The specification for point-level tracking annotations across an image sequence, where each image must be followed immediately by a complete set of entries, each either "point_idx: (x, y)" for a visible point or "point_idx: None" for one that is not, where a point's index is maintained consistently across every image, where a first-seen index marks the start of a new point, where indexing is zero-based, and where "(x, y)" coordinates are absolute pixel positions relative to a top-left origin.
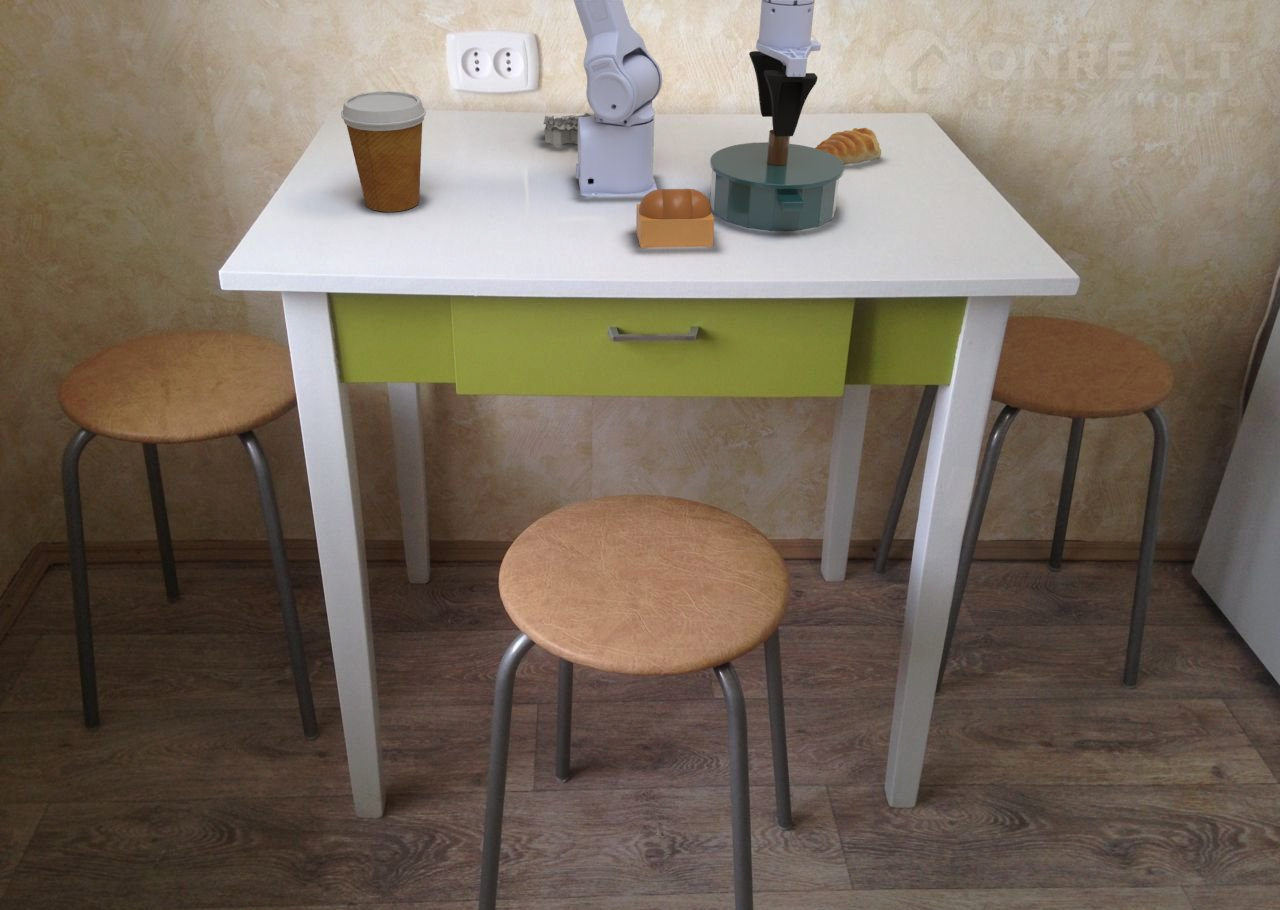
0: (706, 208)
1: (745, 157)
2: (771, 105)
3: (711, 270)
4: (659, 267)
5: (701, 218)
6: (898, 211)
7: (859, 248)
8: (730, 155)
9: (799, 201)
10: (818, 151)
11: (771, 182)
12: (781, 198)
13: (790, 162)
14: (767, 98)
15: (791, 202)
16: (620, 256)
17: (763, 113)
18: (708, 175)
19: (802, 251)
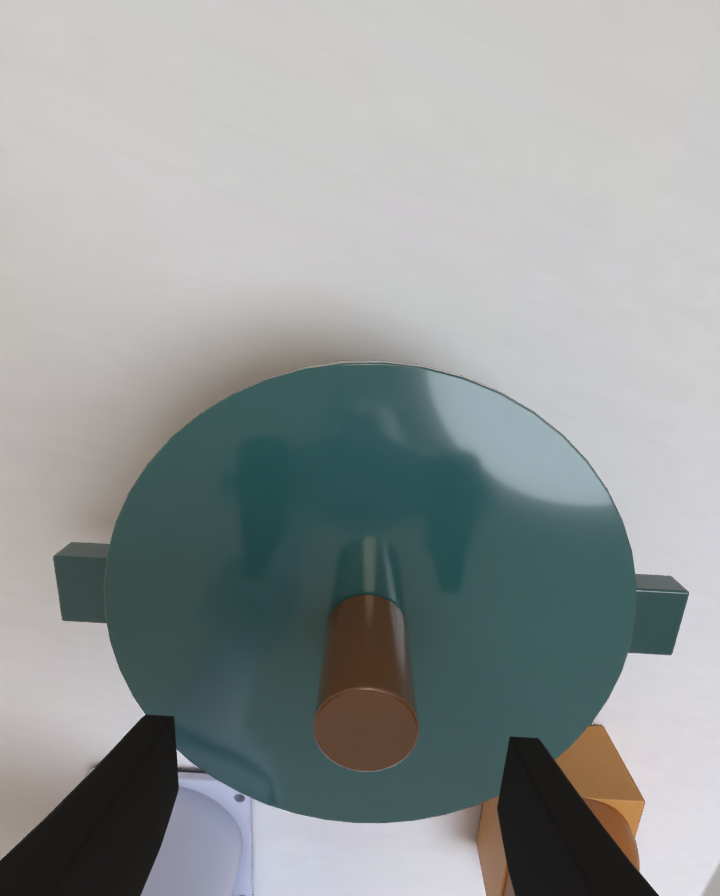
0: (628, 837)
1: (298, 716)
2: (149, 817)
3: (714, 747)
4: (665, 830)
5: (634, 828)
6: (406, 110)
7: (694, 370)
8: (273, 756)
9: (680, 606)
10: (229, 429)
11: (587, 698)
12: (635, 652)
13: (370, 581)
14: (127, 884)
15: (677, 630)
16: None
17: (172, 803)
18: (58, 632)
19: (667, 532)
